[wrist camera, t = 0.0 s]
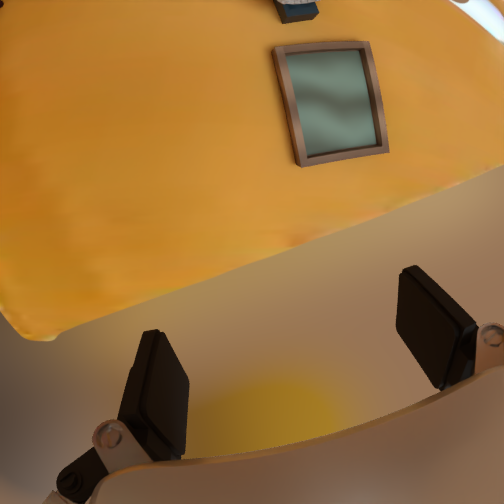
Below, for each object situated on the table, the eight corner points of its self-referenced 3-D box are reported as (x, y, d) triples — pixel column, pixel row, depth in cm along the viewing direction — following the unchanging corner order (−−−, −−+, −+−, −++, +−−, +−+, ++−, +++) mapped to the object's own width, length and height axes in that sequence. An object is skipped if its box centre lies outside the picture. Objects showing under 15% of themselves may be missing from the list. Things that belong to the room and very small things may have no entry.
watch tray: (271, 52, 32) (274, 47, 30) (360, 45, 32) (369, 41, 30) (296, 164, 39) (301, 167, 37) (380, 150, 39) (389, 152, 36)
